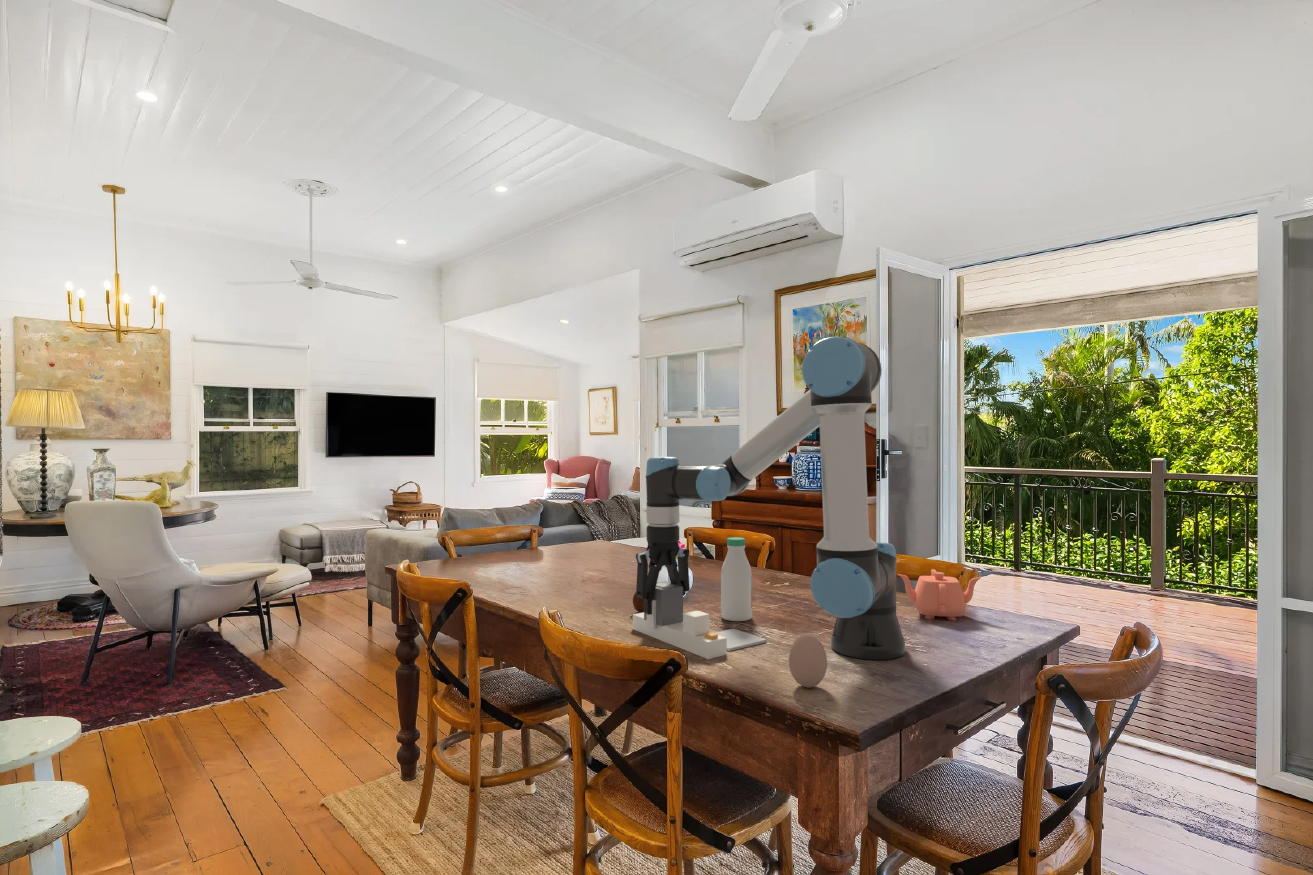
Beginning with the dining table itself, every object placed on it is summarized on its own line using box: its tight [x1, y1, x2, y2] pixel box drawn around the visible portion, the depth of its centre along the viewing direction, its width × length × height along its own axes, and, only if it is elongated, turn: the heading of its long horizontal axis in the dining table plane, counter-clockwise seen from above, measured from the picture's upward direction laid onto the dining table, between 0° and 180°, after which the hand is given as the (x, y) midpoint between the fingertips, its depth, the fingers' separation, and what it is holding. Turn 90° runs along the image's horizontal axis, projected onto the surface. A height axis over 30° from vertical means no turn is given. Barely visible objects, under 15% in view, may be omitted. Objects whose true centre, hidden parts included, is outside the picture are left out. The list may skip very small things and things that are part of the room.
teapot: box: [897, 568, 983, 622], centre depth 178 cm, size 14×14×11 cm
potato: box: [632, 591, 644, 613], centre depth 185 cm, size 8×12×8 cm, turn 137°
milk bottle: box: [720, 536, 753, 622], centre depth 178 cm, size 8×8×20 cm
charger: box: [644, 581, 684, 626], centre depth 162 cm, size 7×6×8 cm
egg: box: [788, 632, 828, 689], centre depth 129 cm, size 7×7×10 cm
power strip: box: [632, 612, 728, 660], centre depth 158 cm, size 28×5×4 cm, turn 35°
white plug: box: [682, 610, 710, 636], centre depth 152 cm, size 4×4×4 cm
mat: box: [714, 628, 768, 652], centre depth 158 cm, size 11×11×1 cm
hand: (663, 625), depth 162 cm, fingers closed on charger, 6 cm apart
